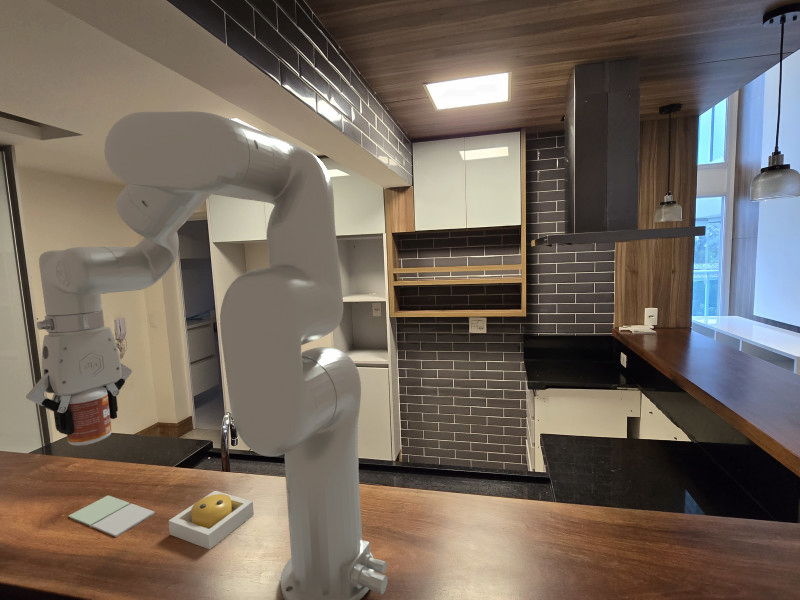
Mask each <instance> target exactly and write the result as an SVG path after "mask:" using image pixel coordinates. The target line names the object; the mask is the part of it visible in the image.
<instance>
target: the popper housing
mask: <svg viewBox="0 0 800 600" xmlns="http://www.w3.org/2000/svg"><path fill="white" fill-rule="evenodd" d="M216 494H224V495H228V496H229V497H230V498H231V506H232V513H230V514H229V515H228V516H226V517H225V518H224V519H222V520H221V521H220V522H218V523H217V524H215V525H214V526H213V527H211V528H210V529H207V528H205V527H202V526H199V525H196V524H193V523H192V514H191V509H192V507H193V505H194V504H195V503H193V504H192V505H190V506H188V508H186V509H184V510H183V511H181V512H180V513H178V514H176V515H175V516H174V517H172V518H170V519H168V527H169V535H171V536H173V537H176V538H179V539H181V540H183V541H186V542H189V543H191V544H193V545H197V546H198V547H202V548H205V549H207V550H211V549H213V548H214V547H215V546H217V544H219V543H220V542H221V541H222V540H224V539H225V538H226V537H228V536H229V535H230V534H231V533H232V532H234V531H235V530H236V529H238V528H239V527H240V526H241V525H242V524H244V523H246V521H248V520H249V519H250V518H252V517H253V516H254V513H255V512H254V501H253V500H248V499H245V498H242V497H239V496H235V495H232V494H228V493H225V492H221V491H218V490H214V491H212V492H210V493H209V494H207V495H206V496H203V498H205V497H208V496H211V495H216Z"/></svg>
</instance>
